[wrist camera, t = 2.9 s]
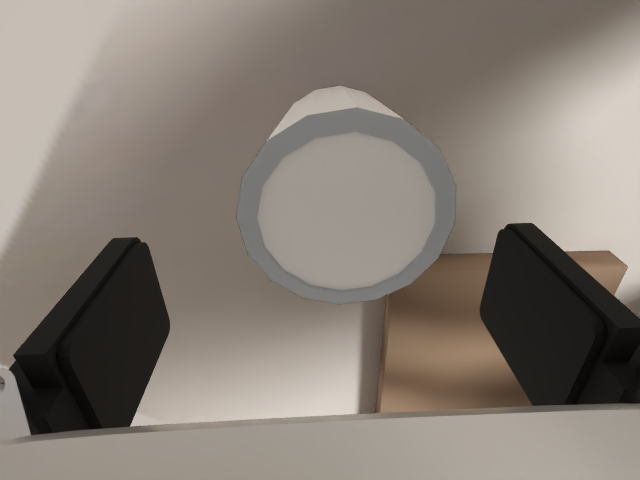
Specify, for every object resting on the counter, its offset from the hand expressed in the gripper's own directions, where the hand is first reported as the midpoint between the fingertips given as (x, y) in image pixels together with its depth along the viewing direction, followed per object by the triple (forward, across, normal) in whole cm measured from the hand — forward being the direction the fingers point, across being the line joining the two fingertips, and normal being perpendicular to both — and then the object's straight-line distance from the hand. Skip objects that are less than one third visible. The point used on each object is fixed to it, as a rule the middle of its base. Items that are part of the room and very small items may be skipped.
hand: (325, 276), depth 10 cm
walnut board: (+9, -10, +14) cm, 20 cm away
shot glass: (+9, -1, -1) cm, 9 cm away
